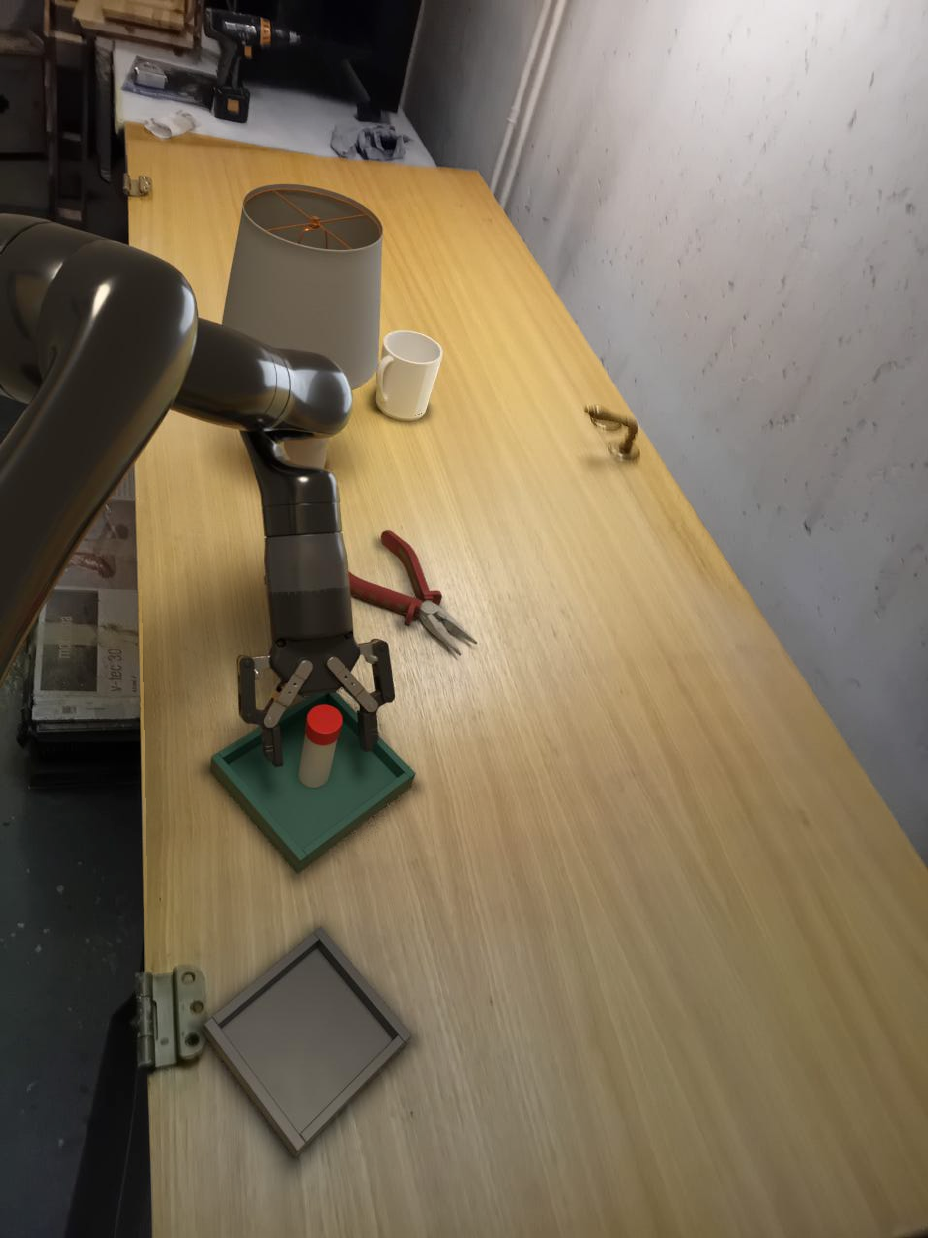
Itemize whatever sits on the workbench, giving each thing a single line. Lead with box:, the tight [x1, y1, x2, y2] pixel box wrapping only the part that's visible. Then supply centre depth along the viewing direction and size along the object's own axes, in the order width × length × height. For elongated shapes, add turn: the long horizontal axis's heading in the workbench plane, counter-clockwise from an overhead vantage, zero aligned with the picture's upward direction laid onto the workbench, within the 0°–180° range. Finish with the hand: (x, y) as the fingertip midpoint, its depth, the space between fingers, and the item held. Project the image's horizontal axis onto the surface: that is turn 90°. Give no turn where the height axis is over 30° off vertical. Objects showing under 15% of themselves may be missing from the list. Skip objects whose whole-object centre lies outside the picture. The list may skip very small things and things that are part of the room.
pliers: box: [349, 529, 478, 657], centre depth 100 cm, size 12×20×3 cm, turn 46°
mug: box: [375, 329, 444, 422], centre depth 123 cm, size 11×9×10 cm
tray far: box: [209, 691, 417, 874], centre depth 81 cm, size 15×14×3 cm
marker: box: [298, 705, 343, 788], centre depth 78 cm, size 3×3×10 cm
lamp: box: [220, 183, 384, 469], centre depth 100 cm, size 19×19×34 cm
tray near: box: [202, 926, 413, 1159], centre depth 65 cm, size 12×12×3 cm
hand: (323, 757), depth 76 cm, fingers open, 8 cm apart
